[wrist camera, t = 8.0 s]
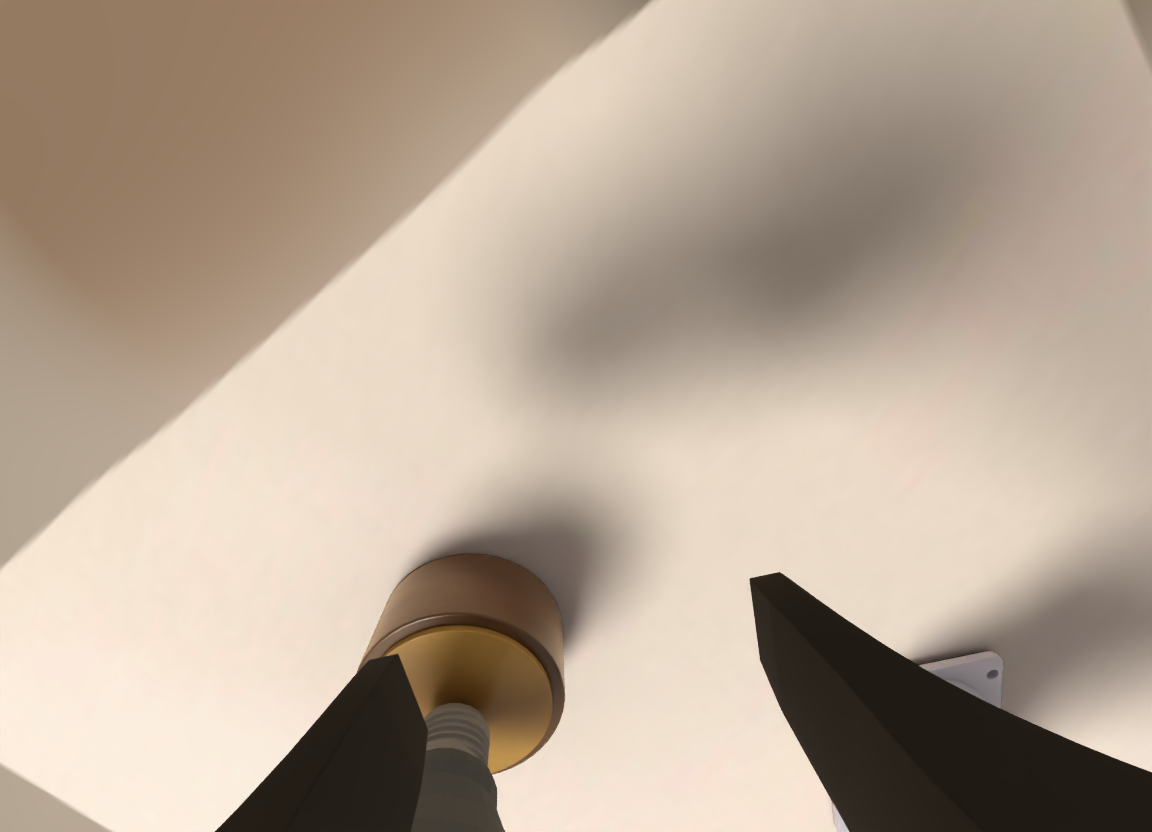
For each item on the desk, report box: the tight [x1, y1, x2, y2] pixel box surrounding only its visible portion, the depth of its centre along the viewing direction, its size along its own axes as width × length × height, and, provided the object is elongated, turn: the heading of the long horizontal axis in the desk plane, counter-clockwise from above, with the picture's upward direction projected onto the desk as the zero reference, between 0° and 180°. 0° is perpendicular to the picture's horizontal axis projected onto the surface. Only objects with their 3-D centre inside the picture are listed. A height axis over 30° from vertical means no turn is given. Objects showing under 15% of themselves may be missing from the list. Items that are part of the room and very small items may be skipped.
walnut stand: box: [357, 554, 565, 774], centre depth 21 cm, size 8×8×4 cm
